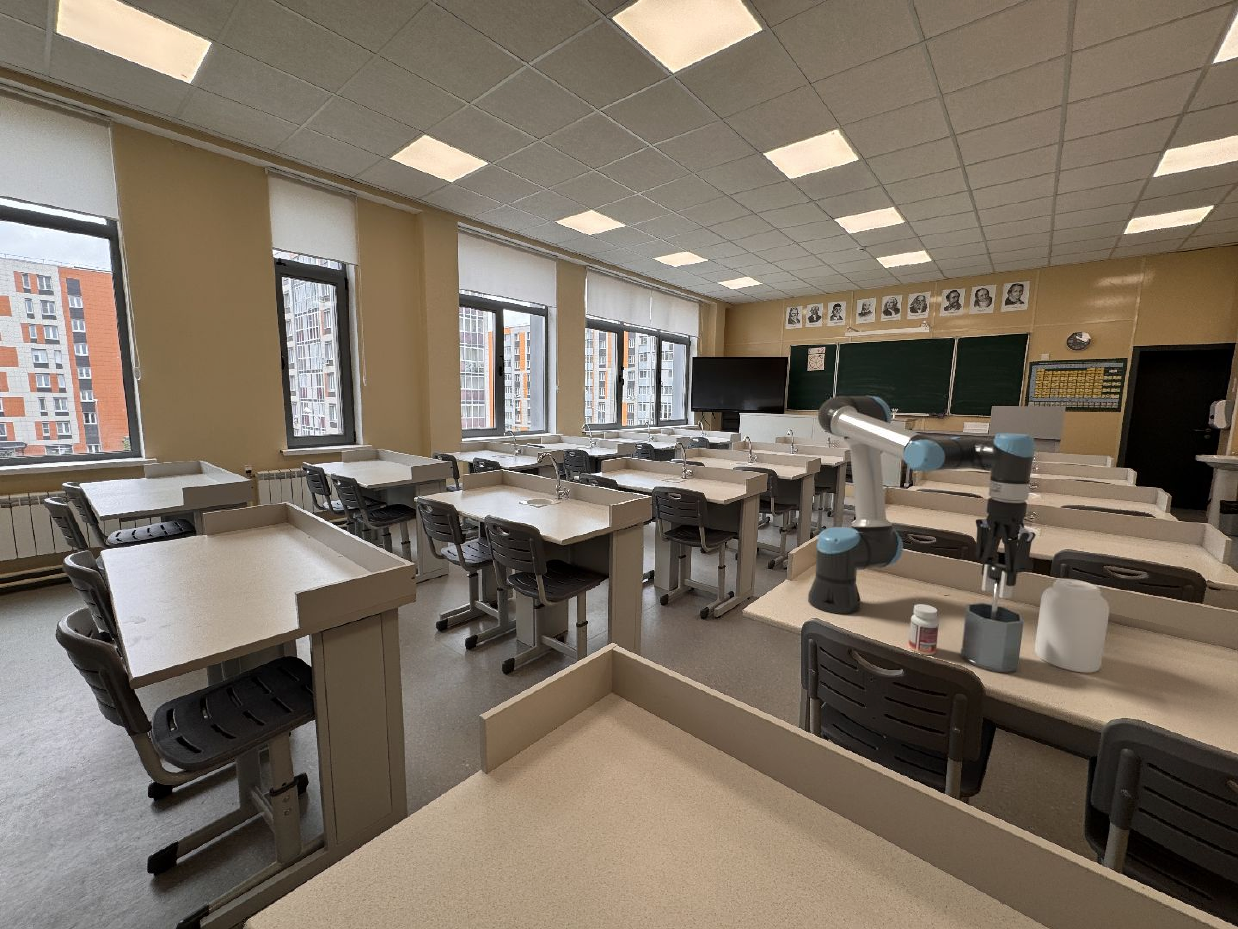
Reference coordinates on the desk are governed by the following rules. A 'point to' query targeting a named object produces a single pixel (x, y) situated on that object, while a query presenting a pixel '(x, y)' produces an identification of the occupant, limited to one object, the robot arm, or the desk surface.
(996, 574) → the plunger
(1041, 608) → the can
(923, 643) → the pill bottle
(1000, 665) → the grey octagonal container
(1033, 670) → the desk surface
